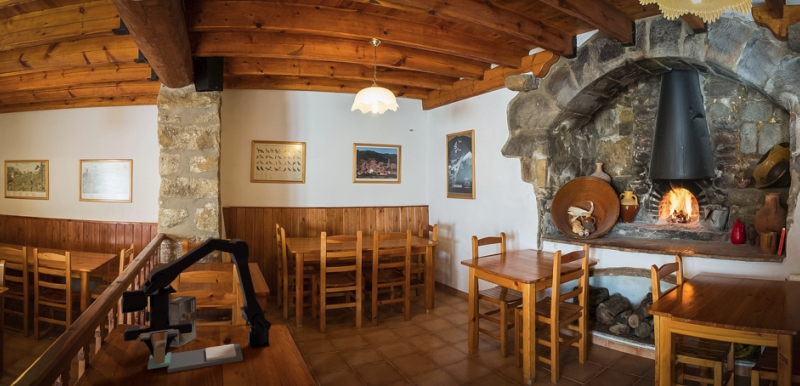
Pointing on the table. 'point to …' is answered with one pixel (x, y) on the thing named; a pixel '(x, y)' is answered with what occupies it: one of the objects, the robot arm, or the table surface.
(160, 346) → the stub
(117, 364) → the table surface
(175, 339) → the coffee box
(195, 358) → the board
